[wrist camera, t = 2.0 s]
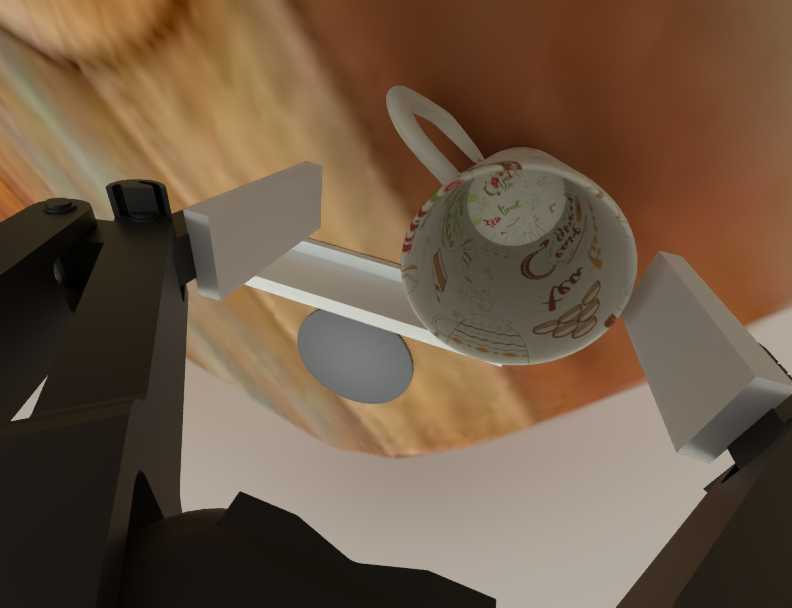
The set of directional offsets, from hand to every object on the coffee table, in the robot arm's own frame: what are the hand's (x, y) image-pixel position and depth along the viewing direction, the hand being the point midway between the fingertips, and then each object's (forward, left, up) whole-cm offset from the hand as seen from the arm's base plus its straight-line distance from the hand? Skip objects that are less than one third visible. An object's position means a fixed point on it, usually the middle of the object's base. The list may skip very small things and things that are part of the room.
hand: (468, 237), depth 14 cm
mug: (0, 0, -9) cm, 9 cm away
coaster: (+18, -7, -9) cm, 21 cm away
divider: (+9, -5, -9) cm, 13 cm away
